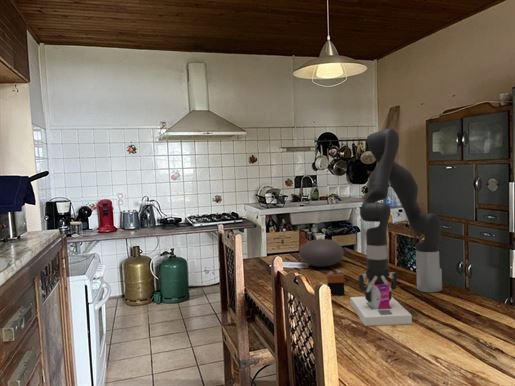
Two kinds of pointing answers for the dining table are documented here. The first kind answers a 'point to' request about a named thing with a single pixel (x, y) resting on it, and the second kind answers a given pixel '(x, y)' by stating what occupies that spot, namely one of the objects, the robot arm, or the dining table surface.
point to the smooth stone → (321, 252)
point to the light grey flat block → (380, 313)
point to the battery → (336, 282)
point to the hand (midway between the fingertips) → (378, 300)
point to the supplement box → (379, 296)
